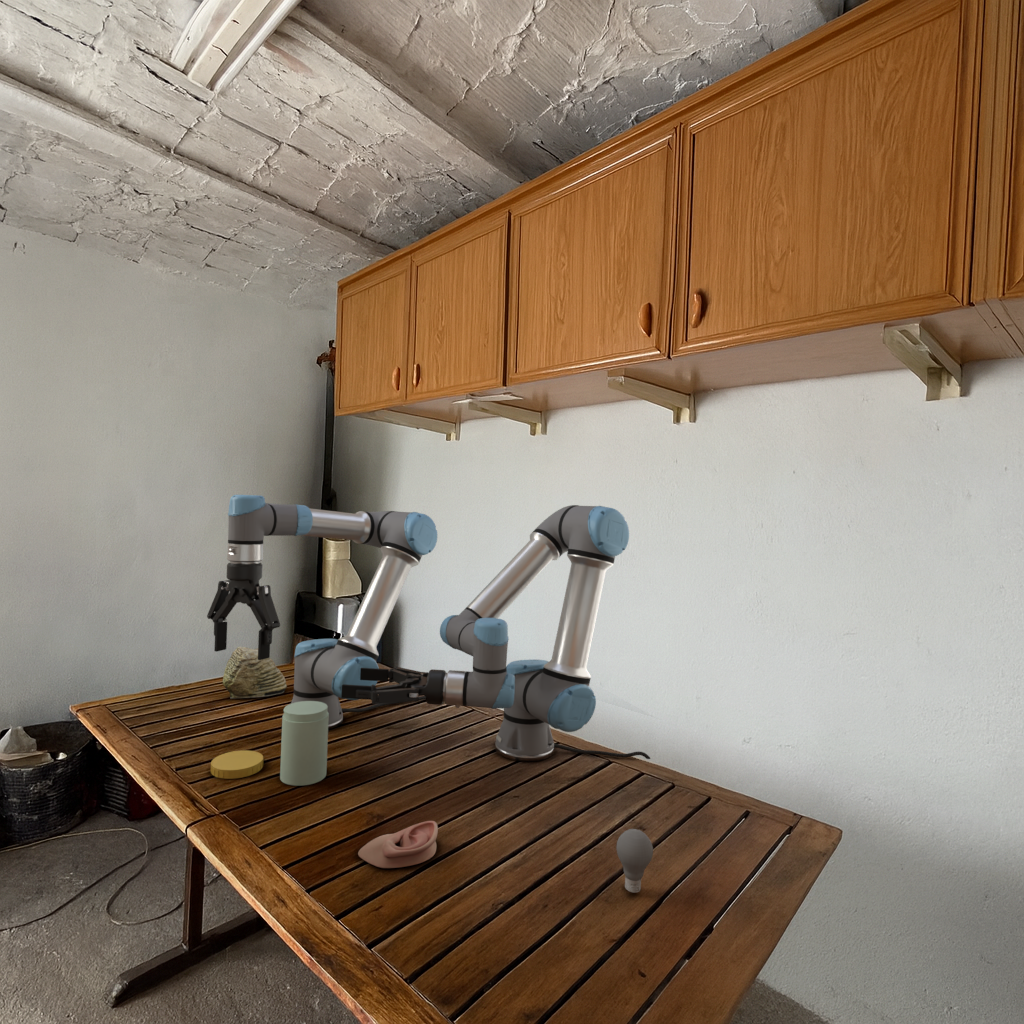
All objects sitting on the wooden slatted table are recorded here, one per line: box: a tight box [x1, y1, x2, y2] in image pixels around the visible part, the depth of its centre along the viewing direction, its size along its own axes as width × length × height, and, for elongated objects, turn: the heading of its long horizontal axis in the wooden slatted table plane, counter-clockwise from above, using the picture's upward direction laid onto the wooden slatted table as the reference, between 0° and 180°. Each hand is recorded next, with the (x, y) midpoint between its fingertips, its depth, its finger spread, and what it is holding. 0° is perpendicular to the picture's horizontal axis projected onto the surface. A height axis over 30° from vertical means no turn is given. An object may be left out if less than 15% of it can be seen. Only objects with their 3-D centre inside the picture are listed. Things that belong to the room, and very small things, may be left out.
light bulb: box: [615, 828, 654, 894], centre depth 106 cm, size 6×6×10 cm
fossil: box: [222, 646, 288, 699], centre depth 198 cm, size 9×18×15 cm, turn 132°
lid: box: [209, 749, 265, 780], centre depth 146 cm, size 11×11×2 cm
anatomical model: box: [357, 820, 439, 869], centre depth 114 cm, size 13×4×12 cm
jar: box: [279, 701, 329, 787], centre depth 143 cm, size 10×10×16 cm
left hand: (241, 654), depth 145 cm, fingers open, 13 cm apart
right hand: (351, 681), depth 142 cm, fingers open, 13 cm apart
